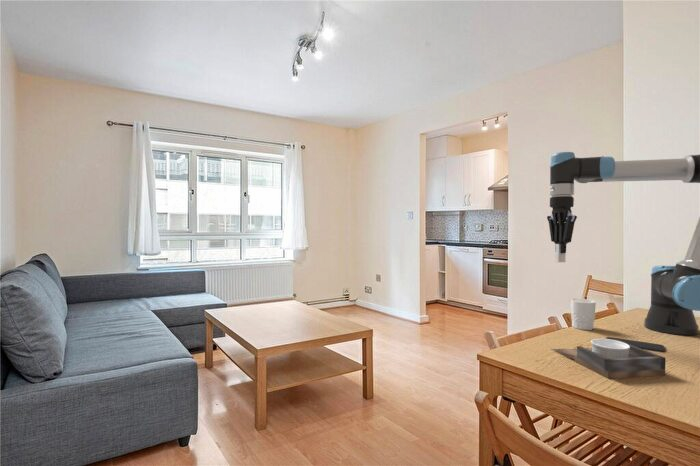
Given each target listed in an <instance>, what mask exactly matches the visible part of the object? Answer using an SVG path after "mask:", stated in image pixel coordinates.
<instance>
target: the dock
mask: <svg viewBox="0 0 700 466" xmlns="http://www.w3.org/2000/svg"><path fill="white" fill-rule="evenodd" d="M628 345H629V346H630V350H629V354H628V358H612V359H609V358H606V357H604V356H602V355H600V354H597V353H595V352H593V351H592V348H589V347H584V346H581V345H579V346H578V345H577V346H576V348H577V349H567V348H551V349H550V350H551V351H553V352H555V353H557V354H560V355H561V356H563V357H564V358H567V359H568V358H569V359H571V360H573V361H574V362H575V363H577V364H579V365H581V366H582V367H584V368H586V369H589V370H590V371H592V372H595V373H597V374H599V375H600V376H602V377H604V378H606V379H620V378H621V379H622V378H623V379H624V378H639V377H658V376H661V377H662V376H666V359H667V358H666V357H665V356H663V355H659V354H657V353H654V352H653V351H650V350H644V349H641V348H638V347H636V346H633V345H630V344H628Z"/></svg>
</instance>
